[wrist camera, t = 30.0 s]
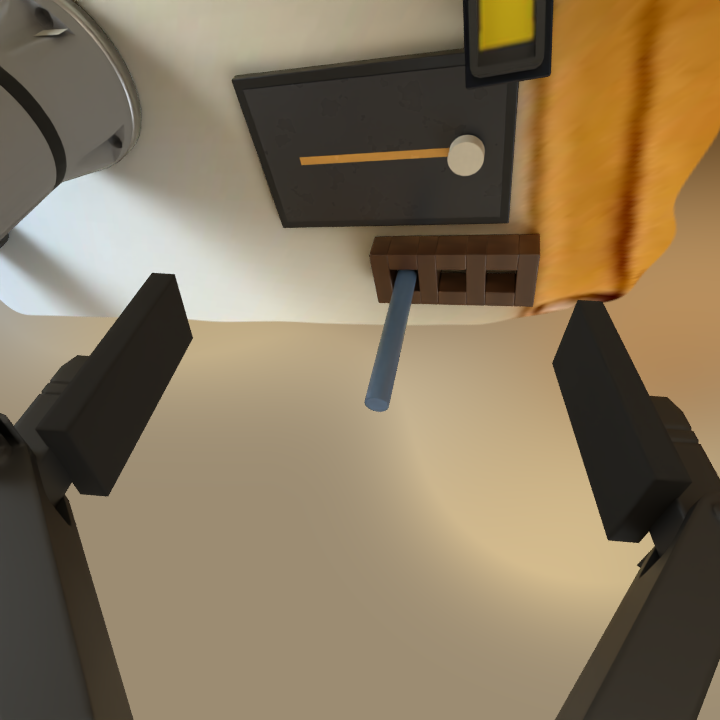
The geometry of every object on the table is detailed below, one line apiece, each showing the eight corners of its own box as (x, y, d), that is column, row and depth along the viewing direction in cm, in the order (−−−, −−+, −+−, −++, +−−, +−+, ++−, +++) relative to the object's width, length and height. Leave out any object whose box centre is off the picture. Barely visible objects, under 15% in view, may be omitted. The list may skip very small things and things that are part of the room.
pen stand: (383, 284, 52) (378, 303, 51) (374, 236, 48) (368, 255, 46) (532, 286, 48) (533, 306, 46) (539, 233, 43) (540, 254, 42)
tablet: (285, 222, 49) (282, 229, 48) (235, 75, 38) (230, 80, 38) (509, 217, 43) (508, 224, 42) (521, 41, 32) (521, 46, 32)
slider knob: (449, 169, 39) (448, 177, 39) (448, 135, 37) (446, 143, 36) (484, 167, 39) (483, 175, 38) (485, 133, 36) (484, 140, 36)
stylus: (401, 269, 50) (366, 410, 39) (399, 254, 49) (362, 397, 38) (420, 269, 50) (390, 413, 39) (419, 254, 48) (386, 399, 37)
